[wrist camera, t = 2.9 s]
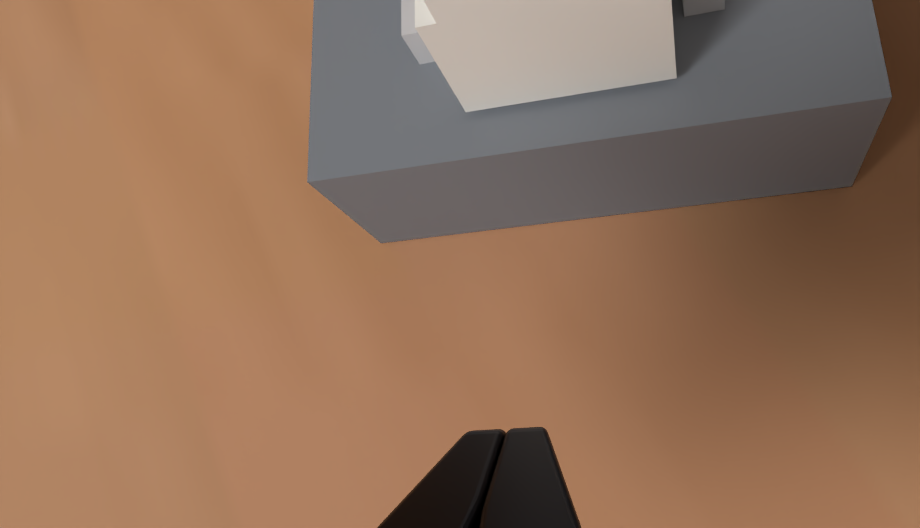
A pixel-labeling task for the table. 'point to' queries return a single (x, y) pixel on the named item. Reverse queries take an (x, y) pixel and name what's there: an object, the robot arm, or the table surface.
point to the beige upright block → (545, 47)
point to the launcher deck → (593, 121)
